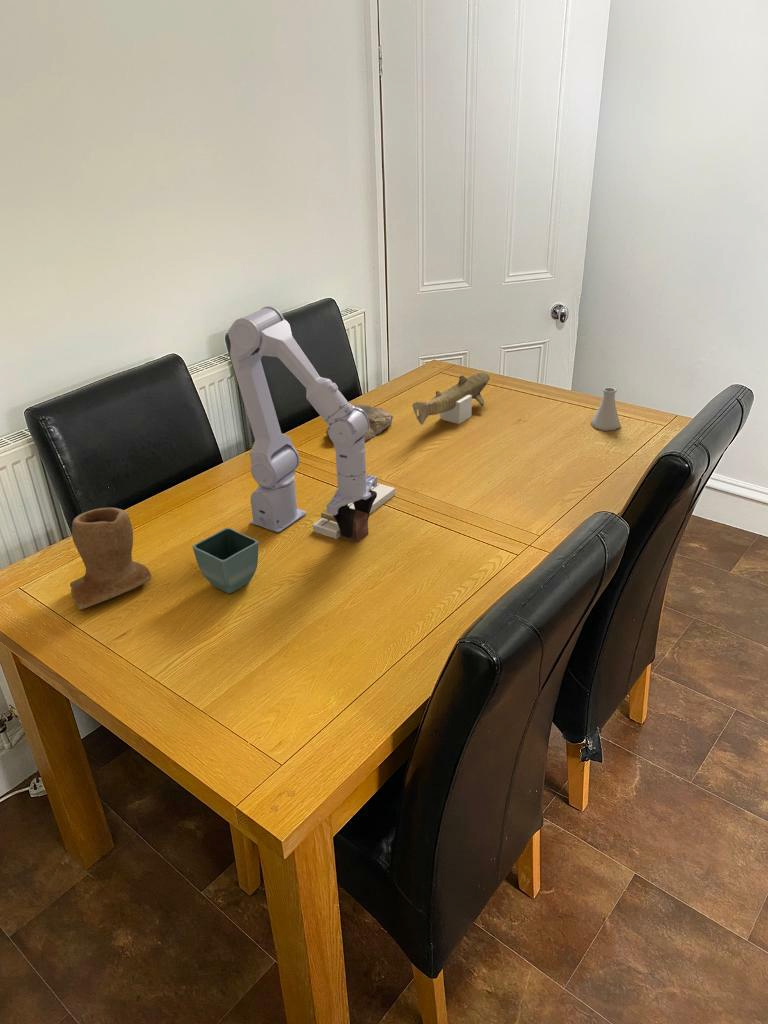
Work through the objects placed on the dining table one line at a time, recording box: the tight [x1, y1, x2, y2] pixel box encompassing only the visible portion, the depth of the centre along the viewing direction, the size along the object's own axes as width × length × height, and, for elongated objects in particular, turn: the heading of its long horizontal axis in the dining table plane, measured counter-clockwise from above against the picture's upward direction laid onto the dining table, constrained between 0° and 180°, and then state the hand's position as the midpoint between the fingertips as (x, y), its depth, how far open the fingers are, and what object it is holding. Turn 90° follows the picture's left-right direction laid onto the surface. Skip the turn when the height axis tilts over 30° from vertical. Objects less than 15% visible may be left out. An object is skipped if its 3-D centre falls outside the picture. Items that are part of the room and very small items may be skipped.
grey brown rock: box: [325, 404, 394, 442], centre depth 210 cm, size 14×5×20 cm
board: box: [312, 482, 396, 540], centre depth 173 cm, size 22×6×2 cm, turn 146°
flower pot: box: [191, 527, 259, 594], centre depth 149 cm, size 9×9×9 cm
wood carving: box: [412, 372, 491, 426], centre depth 212 cm, size 9×35×11 cm, turn 143°
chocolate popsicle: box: [320, 508, 369, 544], centre depth 165 cm, size 4×10×5 cm, turn 56°
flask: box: [590, 386, 621, 432], centre depth 207 cm, size 7×7×10 cm
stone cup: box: [69, 507, 152, 611], centre depth 148 cm, size 15×12×15 cm
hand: (354, 529), depth 165 cm, fingers open, 5 cm apart
